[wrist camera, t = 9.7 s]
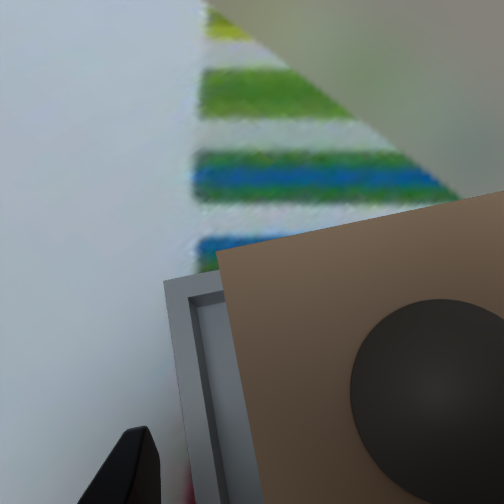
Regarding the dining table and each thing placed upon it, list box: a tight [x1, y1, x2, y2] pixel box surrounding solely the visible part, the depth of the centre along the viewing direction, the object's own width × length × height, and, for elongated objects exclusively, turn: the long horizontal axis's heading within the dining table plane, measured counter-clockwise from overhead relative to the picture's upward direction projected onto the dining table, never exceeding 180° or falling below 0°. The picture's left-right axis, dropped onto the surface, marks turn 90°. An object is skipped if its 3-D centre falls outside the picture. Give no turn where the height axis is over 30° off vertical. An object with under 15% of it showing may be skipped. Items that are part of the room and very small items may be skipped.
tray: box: [163, 270, 265, 504], centre depth 17 cm, size 10×10×3 cm
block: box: [216, 191, 504, 504], centre depth 11 cm, size 5×5×13 cm
